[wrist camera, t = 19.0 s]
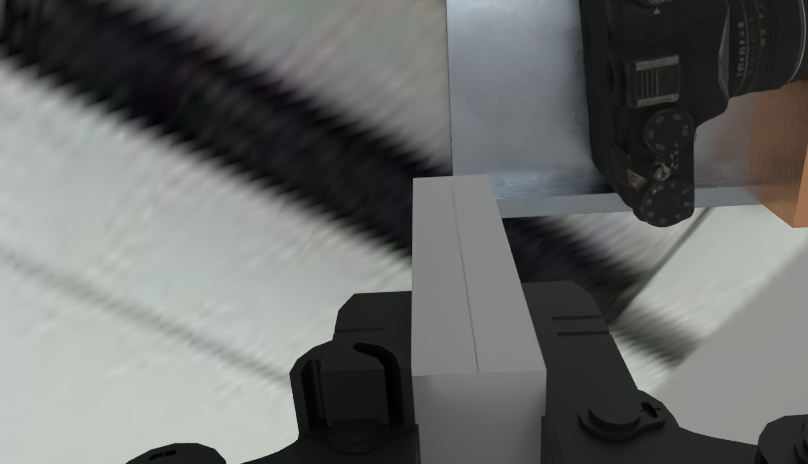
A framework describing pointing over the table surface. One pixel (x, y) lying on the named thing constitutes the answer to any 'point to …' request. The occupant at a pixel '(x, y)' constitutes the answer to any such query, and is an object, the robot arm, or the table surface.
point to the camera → (677, 85)
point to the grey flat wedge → (569, 121)
